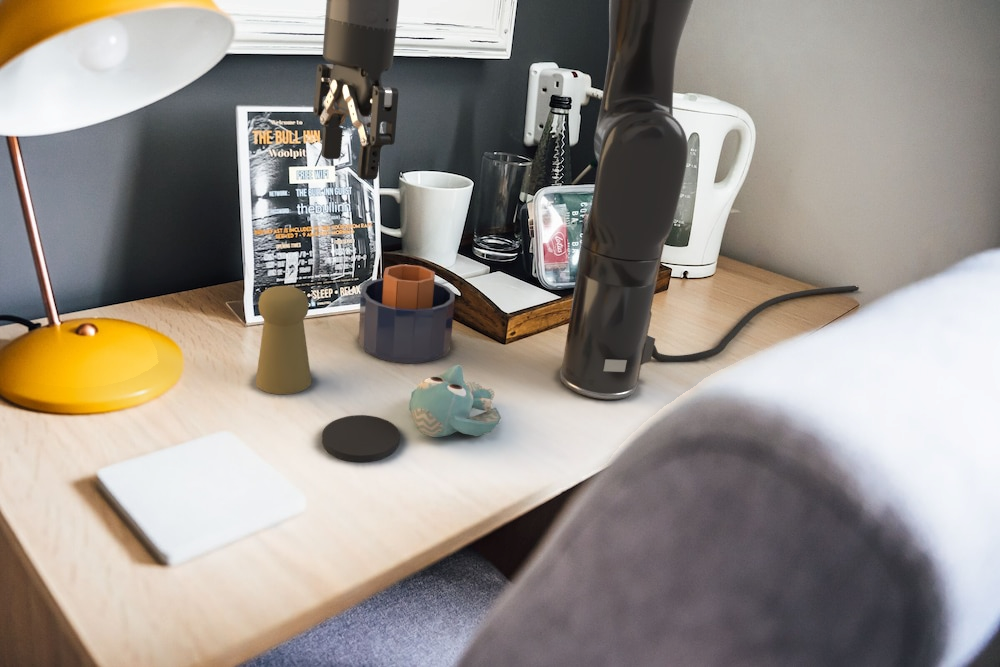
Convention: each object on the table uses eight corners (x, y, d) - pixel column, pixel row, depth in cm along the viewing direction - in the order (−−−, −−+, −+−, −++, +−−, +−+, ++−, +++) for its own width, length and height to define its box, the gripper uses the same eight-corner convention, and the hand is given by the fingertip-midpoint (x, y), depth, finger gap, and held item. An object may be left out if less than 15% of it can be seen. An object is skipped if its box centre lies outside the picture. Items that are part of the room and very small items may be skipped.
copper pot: (407, 325, 103) (411, 261, 99) (439, 341, 99) (445, 276, 96) (371, 336, 98) (374, 270, 95) (403, 353, 95) (407, 285, 91)
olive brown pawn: (297, 398, 83) (297, 304, 79) (245, 388, 84) (243, 294, 80) (320, 375, 89) (322, 285, 84) (271, 365, 89) (270, 276, 85)
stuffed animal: (533, 371, 83) (476, 390, 73) (519, 432, 85) (461, 459, 74) (452, 341, 88) (387, 355, 78) (440, 399, 90) (375, 421, 79)
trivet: (367, 414, 82) (367, 407, 81) (415, 444, 77) (415, 437, 77) (306, 437, 76) (306, 430, 76) (354, 471, 72) (354, 464, 72)
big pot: (408, 318, 107) (412, 271, 104) (468, 348, 100) (473, 298, 97) (340, 338, 98) (342, 287, 96) (400, 371, 92) (404, 317, 89)
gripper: (427, 33, 80) (408, 185, 87) (358, 13, 89) (346, 151, 96) (364, 26, 75) (349, 187, 82) (298, 5, 85) (290, 151, 91)
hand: (348, 168), depth 89 cm, fingers open, 8 cm apart
